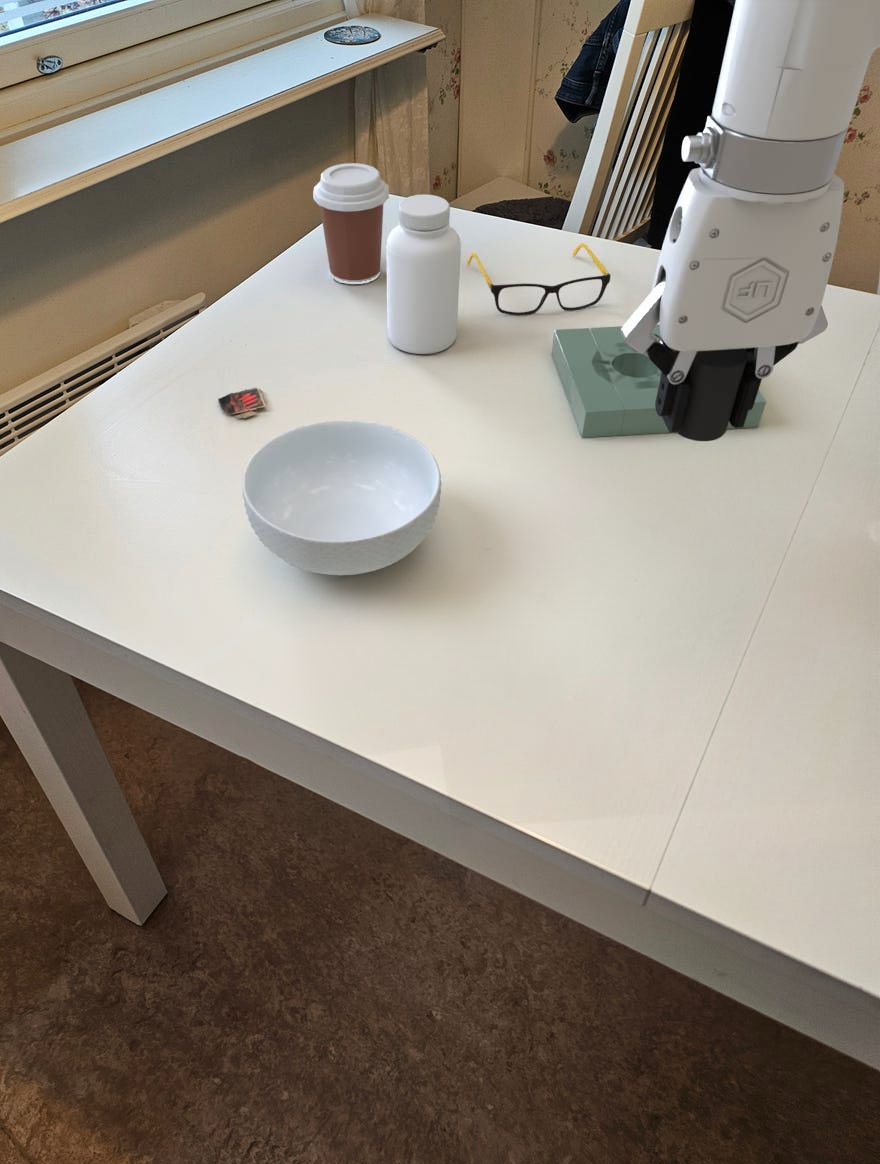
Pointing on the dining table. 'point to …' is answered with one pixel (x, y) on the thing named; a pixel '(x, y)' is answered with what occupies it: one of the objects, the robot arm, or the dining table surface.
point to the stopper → (712, 393)
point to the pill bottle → (423, 276)
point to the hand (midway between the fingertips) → (700, 417)
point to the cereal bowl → (342, 496)
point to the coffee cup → (352, 219)
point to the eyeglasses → (548, 289)
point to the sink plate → (614, 383)
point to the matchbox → (242, 402)
